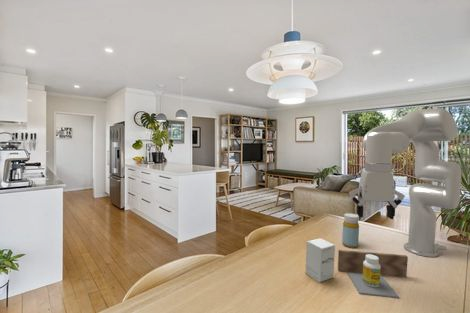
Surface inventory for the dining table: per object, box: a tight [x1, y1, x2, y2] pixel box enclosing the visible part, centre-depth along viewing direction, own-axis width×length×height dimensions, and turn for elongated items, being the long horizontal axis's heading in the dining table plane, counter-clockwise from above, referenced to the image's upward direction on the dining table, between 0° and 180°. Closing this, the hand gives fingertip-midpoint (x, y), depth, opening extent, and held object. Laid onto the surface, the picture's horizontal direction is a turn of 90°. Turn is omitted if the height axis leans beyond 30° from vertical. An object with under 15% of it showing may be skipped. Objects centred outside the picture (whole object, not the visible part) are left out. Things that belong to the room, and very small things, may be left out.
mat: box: [347, 272, 400, 299], centre depth 83 cm, size 12×12×1 cm
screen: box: [337, 249, 409, 278], centre depth 90 cm, size 24×1×8 cm, turn 81°
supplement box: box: [305, 237, 336, 283], centre depth 88 cm, size 7×7×13 cm
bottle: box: [341, 212, 360, 249], centre depth 114 cm, size 7×7×15 cm
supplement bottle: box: [362, 254, 381, 287], centre depth 83 cm, size 5×5×10 cm
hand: (375, 217), depth 81 cm, fingers open, 9 cm apart
